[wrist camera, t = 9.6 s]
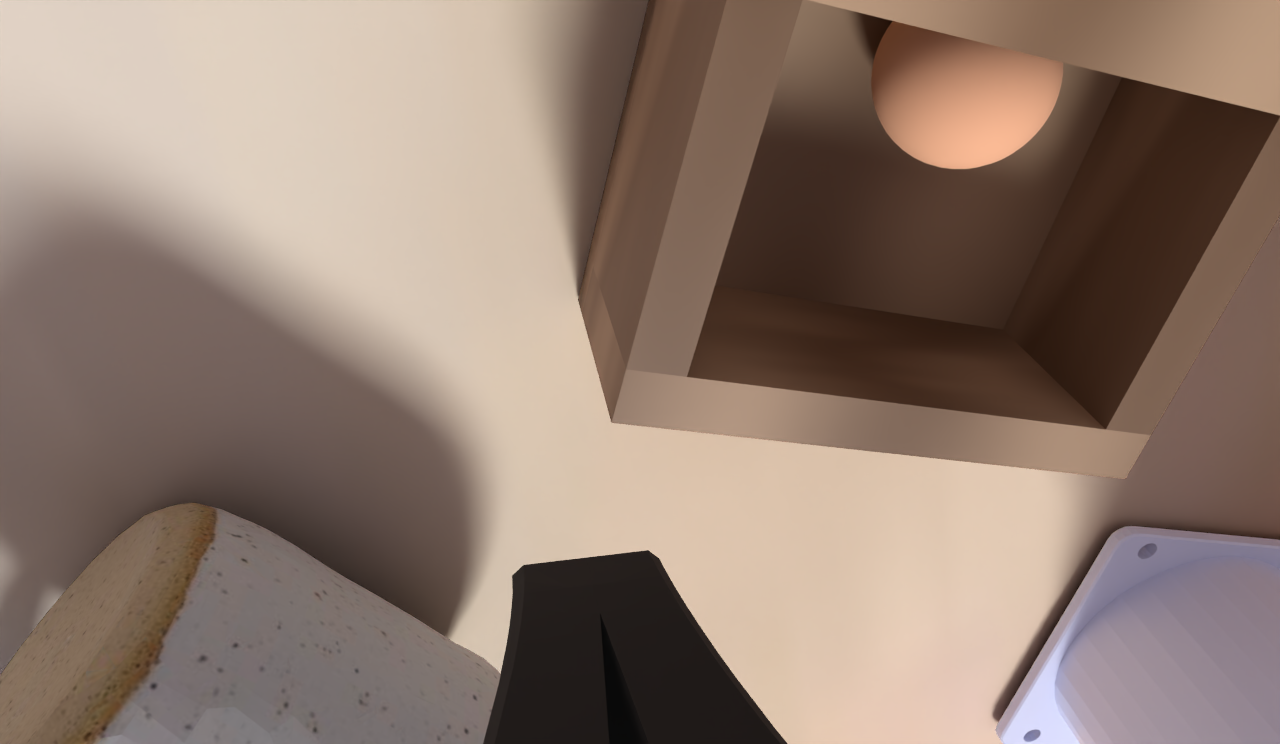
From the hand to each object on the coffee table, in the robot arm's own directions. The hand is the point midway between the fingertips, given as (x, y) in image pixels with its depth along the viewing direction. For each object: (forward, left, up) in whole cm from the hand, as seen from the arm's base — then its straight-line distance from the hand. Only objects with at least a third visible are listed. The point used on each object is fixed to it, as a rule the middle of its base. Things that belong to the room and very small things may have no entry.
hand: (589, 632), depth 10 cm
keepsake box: (-6, -4, -10) cm, 13 cm away
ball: (-6, -5, -10) cm, 13 cm away
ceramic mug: (+4, +11, -11) cm, 16 cm away
